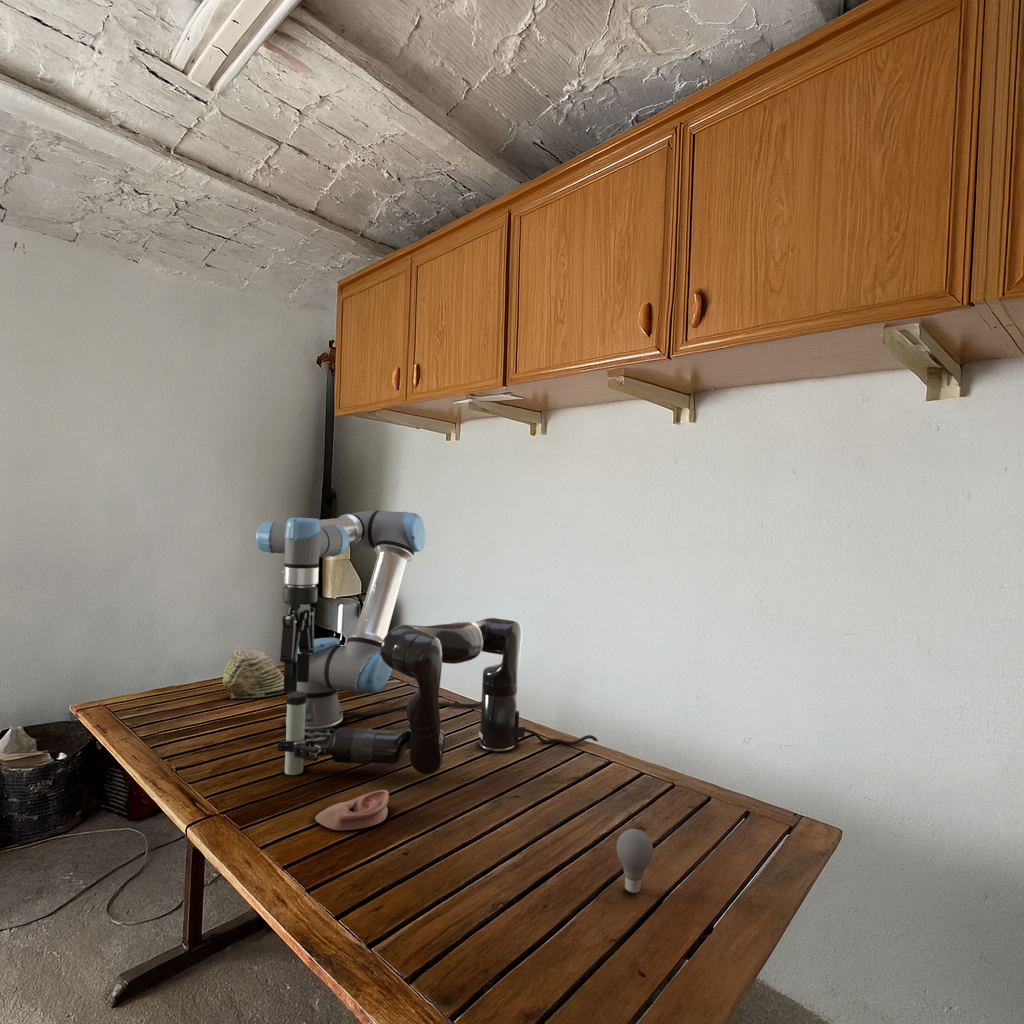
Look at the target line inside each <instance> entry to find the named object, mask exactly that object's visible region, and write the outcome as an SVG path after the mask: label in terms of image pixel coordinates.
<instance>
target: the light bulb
mask: <svg viewBox="0 0 1024 1024" xmlns="http://www.w3.org/2000/svg"><path fill="white" fill-rule="evenodd" d="M615 849H616V854H617V857H618V859H619V861H620V863H621V865H622V867H623V873H624V874H623V875H624V876H625V878H624V888H625V890H627V891H628V892H630V893H634V894H635V893H639V892H640V891H641V889H642V887H641V886H642V879H643V877H644V875H645V871H646V868H647V867H648V866H649V864H650V863H651V861H652V859H653V855H654V847H653V843H652V841H651V838H649V836H648V835H647V834H646V833H645V832H643V831H642V830H641V829H636V828H629V829H627V830H625V831H623V832H622V833H621V834H620V835H619V837H618V839H617V841H616V847H615Z"/></svg>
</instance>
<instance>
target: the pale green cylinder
mask: <svg viewBox="0 0 1024 1024" xmlns="http://www.w3.org/2000/svg"><path fill="white" fill-rule="evenodd" d="M305 707H306V702H305V703H303V704H299V705H291V704H288V703H287V702H286V715H287V724H286V723H285V727H286V728H285V730H286V731H285V741H304V734H305ZM300 750H301V749H300ZM284 752H285V751H284ZM304 761H305V759H301V758H297V757H294V752H285V755H284V774H286V775H289V776H296V775H299V774H302V773H303V772H304Z"/></svg>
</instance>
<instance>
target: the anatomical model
mask: <svg viewBox="0 0 1024 1024" xmlns="http://www.w3.org/2000/svg"><path fill="white" fill-rule="evenodd" d="M389 799H390V793H389V791H388V790H387V789H380V790H375V791H372V792H368V793H366V794H363V795H361V796H358V797H355V798H353V799H351V800H348V801H344V802H338V803H336V804H332V805H330V806H328V807H327V808H325V809H323V810H321V811H320V812H318V814H317V815H315V817H314V819H315V820H314V821H315V822H317V823H318V824H319V825H322V826H323V827H325V828H327V829H331V830H333V831H350V830H351V831H353V830H360V829H365V828H368V827H373V826H375V825H379V824H381V823H382V822H384V821H385V820H386V819H387V816H388V813H389V812H388V811H389V809H388V807H387V805H388V803H389Z"/></svg>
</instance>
